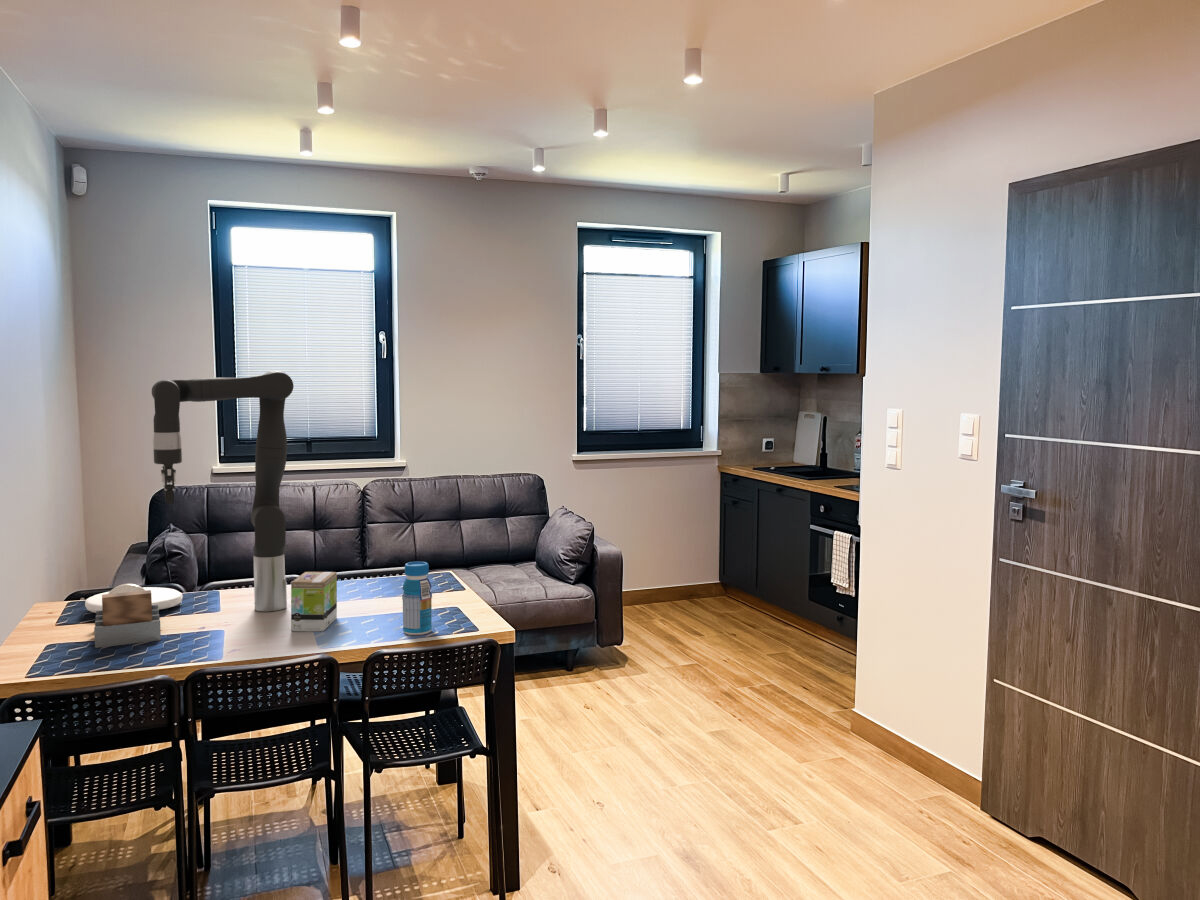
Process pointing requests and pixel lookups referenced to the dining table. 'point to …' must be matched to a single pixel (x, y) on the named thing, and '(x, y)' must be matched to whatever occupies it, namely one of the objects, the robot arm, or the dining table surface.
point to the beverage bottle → (417, 599)
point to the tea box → (313, 601)
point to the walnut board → (127, 607)
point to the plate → (158, 595)
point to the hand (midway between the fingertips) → (169, 501)
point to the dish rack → (127, 625)
